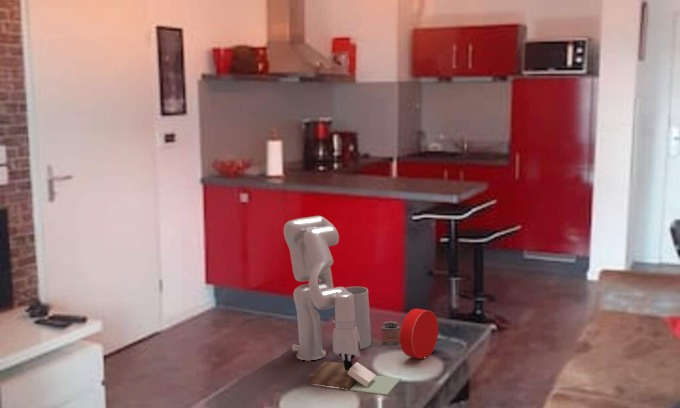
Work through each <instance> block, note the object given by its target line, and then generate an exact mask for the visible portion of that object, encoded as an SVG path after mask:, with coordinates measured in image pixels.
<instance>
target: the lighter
mask: <svg viewBox="0 0 680 408" xmlns="http://www.w3.org/2000/svg"><path fill="white" fill-rule="evenodd" d="M400 331H401V326H399V325H398V323H397V321H392V320H391V321H384V322H382V326H381V335H382V336H381V337H382V341H381V342H382V343H381V344H382V345H384V346H396V345H401V344H400Z"/></svg>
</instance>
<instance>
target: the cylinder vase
mask: <svg viewBox="0 0 680 408" xmlns="http://www.w3.org/2000/svg"><path fill="white" fill-rule="evenodd" d="M344 288H345V289H346V290H347V291H348V292H351V293H352V294H353V296H354V310H355V325H356V327H357V329H358V332H359V337H360V345H361V349H360V351H361V350H365V349H368V348H369V347H370V346H371V345H372V338H371V320H370V302H369V290H368V288H367V287H364V286H349V287H348V286H347V287H344Z"/></svg>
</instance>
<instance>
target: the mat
mask: <svg viewBox="0 0 680 408" xmlns="http://www.w3.org/2000/svg"><path fill="white" fill-rule="evenodd" d="M401 380H402V378H399V377H391V376H384V375H376V376H375V378H374V380H373V381H372V382H371V383H370V384H369V385H368V386H367V387H365V386H364V385H363V384H361V383H360V382H358V381H356V382H355V383H354V384H353V385H352V386H351V387H350V388H349V390H350V391H351V392H359V393H367V394H373V395H374V394H375V395H376V394H377V395H380V396H381V395H383V396H388V395H389V394H390V393H391V391H392V390H393V389H394V388H395V387H396V386H397V385H398V384H399V382H400V381H401Z"/></svg>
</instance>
